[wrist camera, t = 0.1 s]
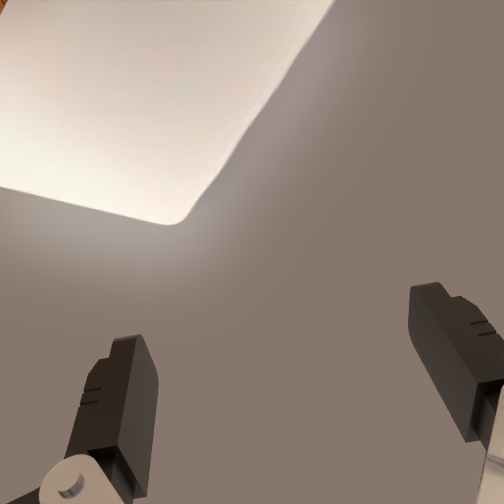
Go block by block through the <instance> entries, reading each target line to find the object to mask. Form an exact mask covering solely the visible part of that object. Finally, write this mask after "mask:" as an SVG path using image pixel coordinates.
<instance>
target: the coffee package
mask: <svg viewBox="0 0 504 504" xmlns="http://www.w3.org/2000/svg"><path fill="white" fill-rule="evenodd" d="M7 1H8V0H0V14H1V12H2V10H3V8H4V7H5V5H6V3H7Z"/></svg>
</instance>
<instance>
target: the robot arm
mask: <svg viewBox="0 0 504 504" xmlns="http://www.w3.org/2000/svg"><path fill="white" fill-rule="evenodd" d="M409 300H410V301H409V317H408V329H409V334H410V338H411V341H412V343H413V345H414V347H415V349H416V351H417V353H418V355H419V357H420V358H421V360H422V362H423V364H424V366H425V368H426V370H427V372H428V373H429V375H430V377H431V379H432V381H433V383H434V385H435V386H436V388H437V390H438V392H439V394H440V396H441V397H442V399H443V401H444V403H445V405H446V407H447V409H448V410H449V412H450V414H451V416H452V418H453V420H454V422H455V423H456V425H457V427H458V429H459V431H460V433H461V435H462V437H463V438H464V440H465V442H466V443H467V442H473V441H478V440H480V441H481V443H482V444H483V446H484V448H485V450H486V454H485V458H484V463H483V468H482V472H481V477H480V482H479V486H478V491H477V495H476V500H475V504H504V340H503V339H502V338H501V336H500V335H499V334H497V333H496V330H495V329H494V327H493V326H492V325H491V324H490V323H488V320H487V319H486V317H485V316H484V315H483V314H482V312H481V311H480V310H479V308H478V307H477V306H476V305H474V304H473V303H471V302H469V301H468V300H466V299H465V298H463V297H462V296H457V297H452V298H451V297H450V296H449V294H448V293H447V291H446V290H445V289H444V287H443V286H442V285H441V284H440V283H439V282H434V283H428V284H422V285H417V286H412V287H411V289H410V299H409ZM157 397H158V376H157V371H156V368H155V365H154V363H153V360H152V358H151V356H150V353H149V351H148V349H147V346H146V344H145V341H144V339H143V337H142V336H141V335H140V334H138V335H133V336H127V337H122V338H116V339H114V341H113V344H112V347H111V351H110V356H109V358H105V359H99V360H98V362H97V363H96V364H95V366H94V367H93V369H92V370H91V371H90V373H89V374H88V377H87V380H86V384H85V387H84V394H82V398H81V401H80V407H79V408H78V412H77V416H76V419H75V423H74V426H73V430H72V433H71V437H70V441H69V444H68V447H67V451H66V455H65V457H64V460H62V461H61V462H60V463H58V464H57V465H56V466H55V467H53V468H52V469H51V471H50V472H49V473H48V474H47V475H46V477H45V479H44V480H43V482H42V485H41V486H40V487H39V488H37V489H35V490H34V491H32V492H30V493H28V494H26V495H24V496H22V497H20V498H17V499H15V500H13V501H11V502H9V503H7V504H133V499H136V498H142V497H146V496H147V488H148V479H149V470H150V461H151V451H152V443H153V433H154V424H155V415H156V405H157Z"/></svg>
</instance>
